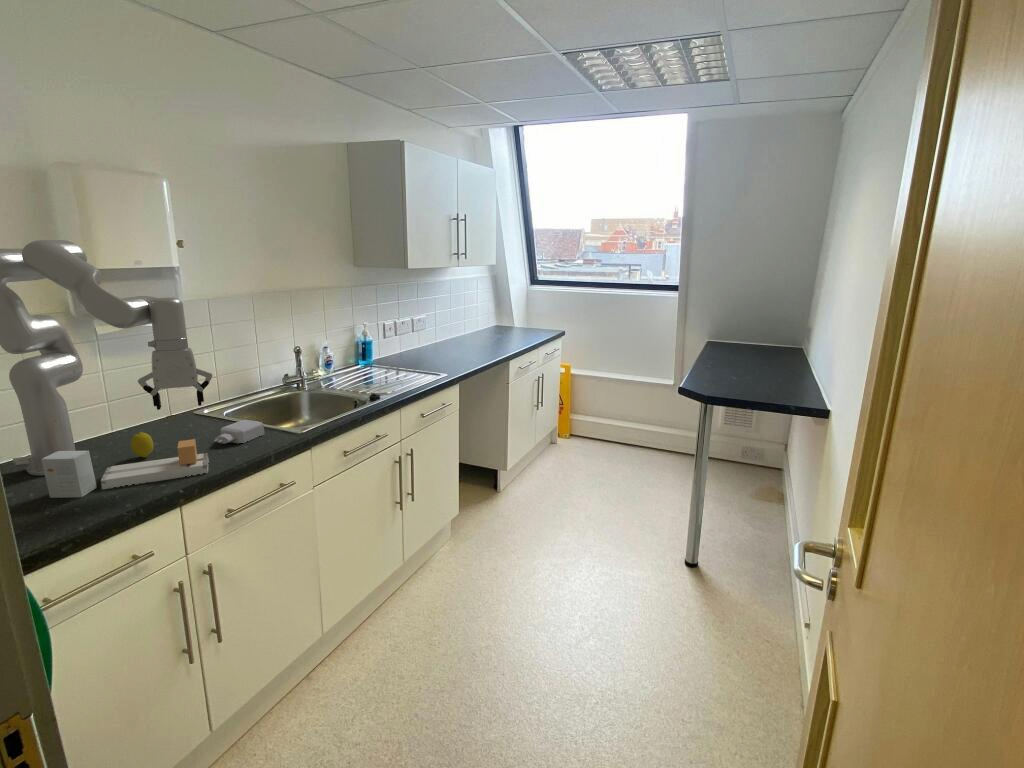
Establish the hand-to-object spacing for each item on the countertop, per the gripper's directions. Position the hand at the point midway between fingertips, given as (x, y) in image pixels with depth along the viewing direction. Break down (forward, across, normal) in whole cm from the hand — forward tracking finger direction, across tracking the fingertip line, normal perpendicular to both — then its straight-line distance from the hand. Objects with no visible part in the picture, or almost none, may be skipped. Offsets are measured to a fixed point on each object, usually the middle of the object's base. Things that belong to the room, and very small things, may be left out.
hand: (179, 406), depth 151 cm
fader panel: (+18, -7, -1) cm, 20 cm away
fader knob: (+17, 0, -1) cm, 17 cm away
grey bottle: (+19, +12, +20) cm, 30 cm away
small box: (+19, -25, -5) cm, 32 cm away
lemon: (+19, -12, +15) cm, 27 cm away
